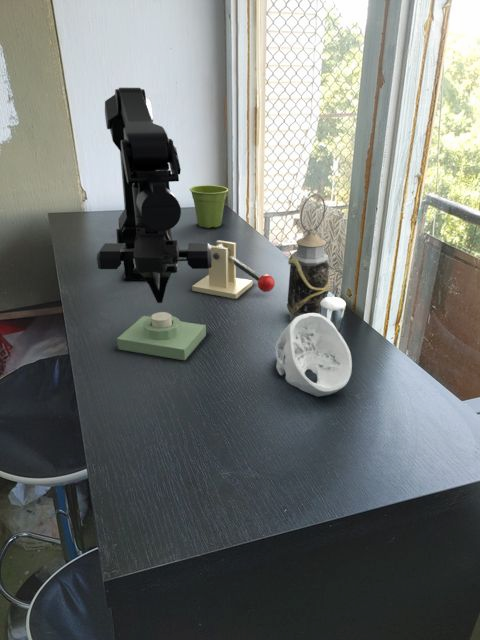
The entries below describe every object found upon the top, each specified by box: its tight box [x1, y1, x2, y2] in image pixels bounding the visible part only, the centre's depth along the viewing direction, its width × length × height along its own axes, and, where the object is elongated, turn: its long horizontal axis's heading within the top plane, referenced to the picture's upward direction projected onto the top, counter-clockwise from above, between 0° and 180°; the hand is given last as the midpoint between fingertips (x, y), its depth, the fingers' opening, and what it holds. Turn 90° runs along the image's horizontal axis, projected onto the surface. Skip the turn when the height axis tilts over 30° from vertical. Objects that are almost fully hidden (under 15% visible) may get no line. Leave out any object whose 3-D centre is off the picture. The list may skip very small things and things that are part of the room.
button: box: [150, 311, 172, 328], centre depth 94 cm, size 4×4×2 cm
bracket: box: [191, 239, 253, 300], centre depth 118 cm, size 11×9×10 cm
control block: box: [116, 315, 207, 361], centre depth 96 cm, size 13×10×4 cm
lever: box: [218, 243, 276, 293], centre depth 115 cm, size 15×4×4 cm, turn 68°
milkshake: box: [320, 287, 347, 334], centre depth 95 cm, size 4×5×10 cm
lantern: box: [286, 193, 331, 322], centre depth 100 cm, size 9×8×25 cm
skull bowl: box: [274, 313, 353, 398], centre depth 85 cm, size 10×14×12 cm
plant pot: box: [189, 184, 229, 229], centre depth 162 cm, size 12×12×11 cm
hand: (160, 302), depth 93 cm, fingers closed
